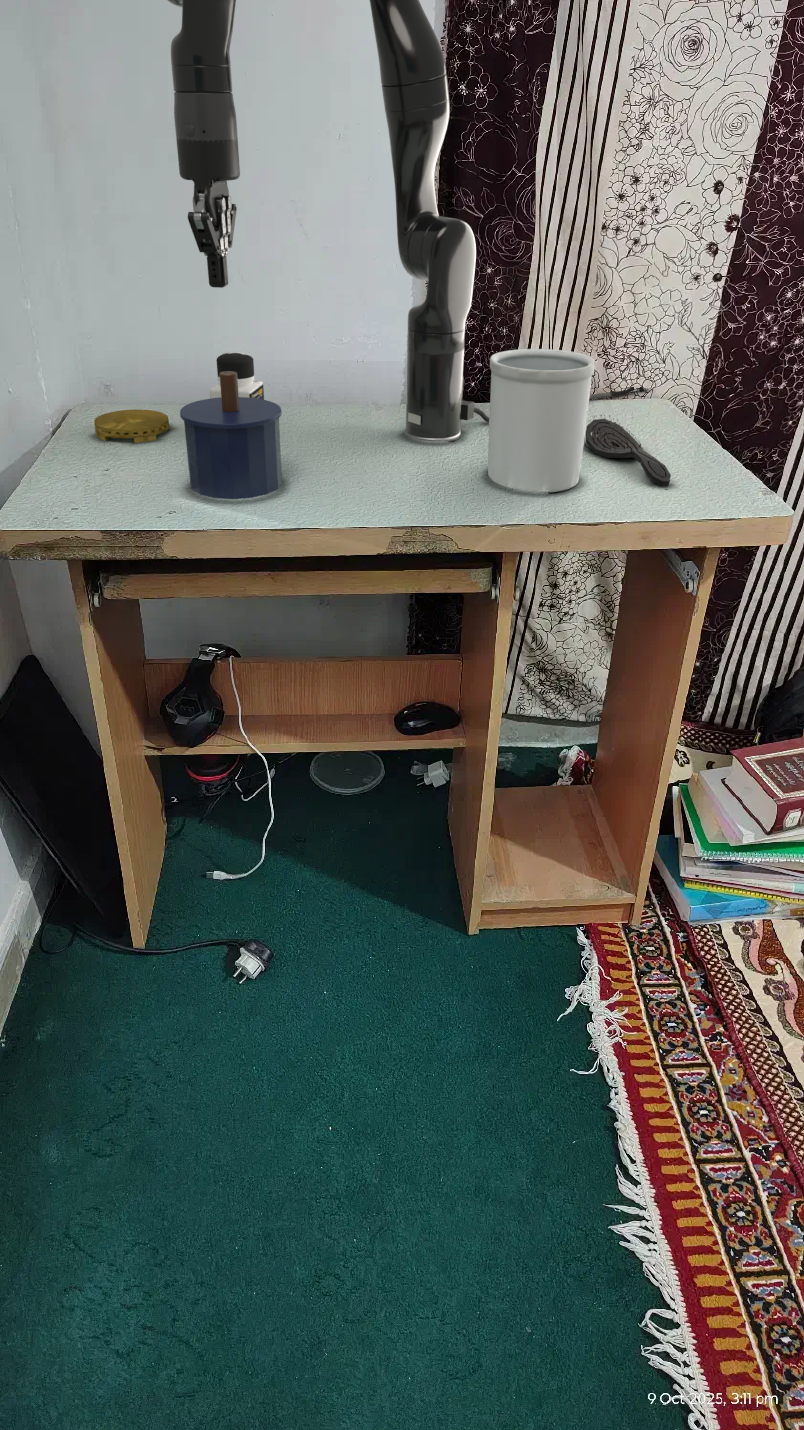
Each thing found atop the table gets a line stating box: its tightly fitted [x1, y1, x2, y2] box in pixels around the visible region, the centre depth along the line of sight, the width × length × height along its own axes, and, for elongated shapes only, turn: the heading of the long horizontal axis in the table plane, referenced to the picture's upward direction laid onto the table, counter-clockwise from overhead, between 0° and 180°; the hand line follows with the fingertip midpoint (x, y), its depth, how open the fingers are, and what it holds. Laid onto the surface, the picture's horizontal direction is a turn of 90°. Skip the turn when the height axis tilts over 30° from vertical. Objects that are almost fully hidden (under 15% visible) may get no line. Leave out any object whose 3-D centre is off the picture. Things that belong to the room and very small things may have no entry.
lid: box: [179, 371, 283, 429], centre depth 137 cm, size 14×14×6 cm
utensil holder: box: [487, 348, 596, 494], centre depth 144 cm, size 15×15×18 cm
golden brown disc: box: [93, 409, 170, 444], centre depth 165 cm, size 12×12×2 cm
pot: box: [183, 417, 283, 500], centre depth 141 cm, size 13×13×10 cm
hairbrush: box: [585, 414, 672, 488], centre depth 156 cm, size 8×4×25 cm
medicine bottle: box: [209, 351, 265, 400], centre depth 165 cm, size 7×7×12 cm
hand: (219, 286), depth 131 cm, fingers closed
